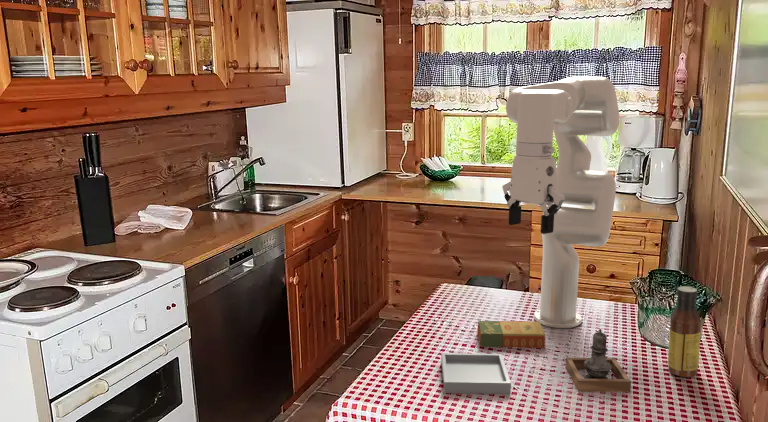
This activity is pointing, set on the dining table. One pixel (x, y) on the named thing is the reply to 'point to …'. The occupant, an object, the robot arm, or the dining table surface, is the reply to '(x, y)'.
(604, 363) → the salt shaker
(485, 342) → the carton
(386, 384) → the dining table surface
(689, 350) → the sauce bottle
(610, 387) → the wooden square frame
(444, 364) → the tray
